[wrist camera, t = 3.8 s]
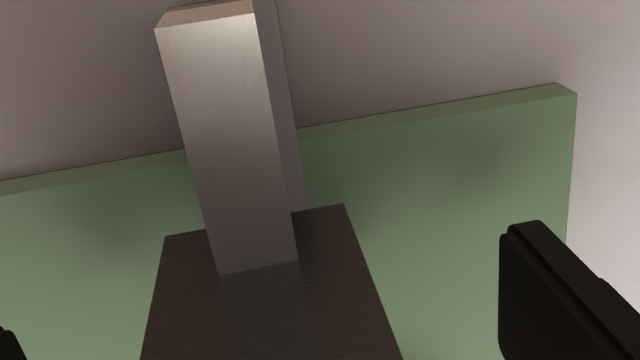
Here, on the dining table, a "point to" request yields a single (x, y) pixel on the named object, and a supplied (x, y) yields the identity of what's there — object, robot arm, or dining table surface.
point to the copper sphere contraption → (250, 221)
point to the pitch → (303, 193)
